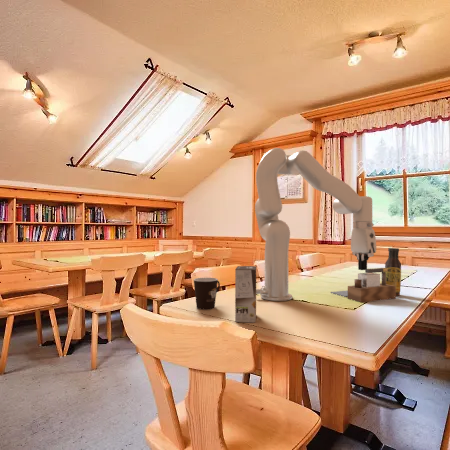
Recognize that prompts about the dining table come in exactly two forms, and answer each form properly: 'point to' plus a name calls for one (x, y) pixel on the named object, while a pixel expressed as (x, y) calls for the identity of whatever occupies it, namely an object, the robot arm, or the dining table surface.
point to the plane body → (371, 291)
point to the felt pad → (341, 293)
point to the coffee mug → (206, 292)
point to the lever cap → (369, 279)
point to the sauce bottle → (393, 269)
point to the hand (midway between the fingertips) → (362, 269)
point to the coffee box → (245, 294)
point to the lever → (376, 270)
